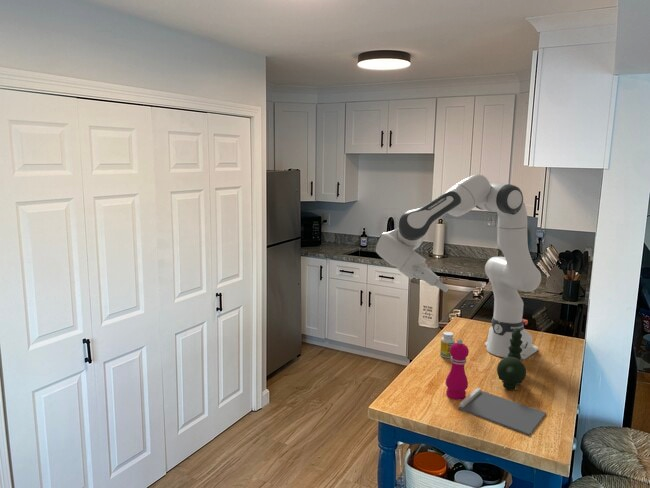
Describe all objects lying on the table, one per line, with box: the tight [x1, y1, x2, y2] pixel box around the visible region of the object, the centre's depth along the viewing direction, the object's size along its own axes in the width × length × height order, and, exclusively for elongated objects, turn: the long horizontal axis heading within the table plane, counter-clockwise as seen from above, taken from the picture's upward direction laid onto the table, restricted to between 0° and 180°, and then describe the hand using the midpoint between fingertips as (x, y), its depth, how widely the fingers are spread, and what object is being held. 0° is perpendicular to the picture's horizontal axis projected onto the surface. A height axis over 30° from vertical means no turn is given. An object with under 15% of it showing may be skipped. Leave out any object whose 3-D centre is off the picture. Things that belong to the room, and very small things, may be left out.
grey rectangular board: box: [457, 390, 547, 437], centre depth 151 cm, size 22×16×1 cm
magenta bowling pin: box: [445, 338, 469, 401], centre depth 159 cm, size 7×7×20 cm
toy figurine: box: [496, 328, 527, 391], centre depth 170 cm, size 9×19×25 cm
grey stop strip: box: [459, 387, 482, 407], centre depth 157 cm, size 1×14×2 cm, turn 140°
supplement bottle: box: [439, 331, 456, 359], centre depth 192 cm, size 5×5×10 cm
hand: (447, 290), depth 163 cm, fingers open, 8 cm apart
